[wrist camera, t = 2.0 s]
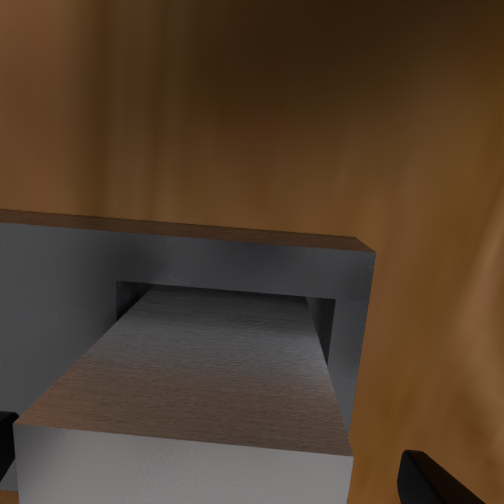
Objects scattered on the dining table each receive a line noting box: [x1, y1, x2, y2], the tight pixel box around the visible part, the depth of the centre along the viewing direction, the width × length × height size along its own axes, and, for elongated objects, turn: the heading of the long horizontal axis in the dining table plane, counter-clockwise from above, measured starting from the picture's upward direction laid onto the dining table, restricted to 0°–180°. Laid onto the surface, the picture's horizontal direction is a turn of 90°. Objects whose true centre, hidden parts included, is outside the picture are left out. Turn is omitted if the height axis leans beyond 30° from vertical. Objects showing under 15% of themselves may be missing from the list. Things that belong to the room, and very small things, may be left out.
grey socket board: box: [0, 209, 376, 492], centre depth 12 cm, size 20×9×3 cm, turn 86°
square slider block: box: [13, 284, 354, 504], centre depth 9 cm, size 5×5×7 cm
